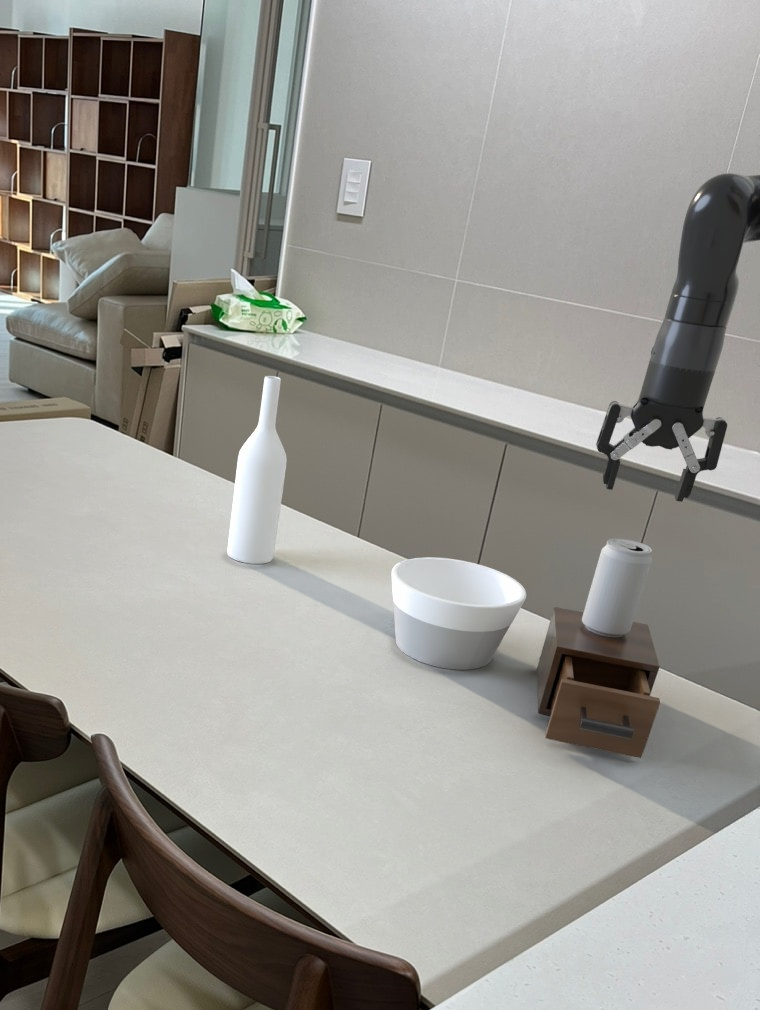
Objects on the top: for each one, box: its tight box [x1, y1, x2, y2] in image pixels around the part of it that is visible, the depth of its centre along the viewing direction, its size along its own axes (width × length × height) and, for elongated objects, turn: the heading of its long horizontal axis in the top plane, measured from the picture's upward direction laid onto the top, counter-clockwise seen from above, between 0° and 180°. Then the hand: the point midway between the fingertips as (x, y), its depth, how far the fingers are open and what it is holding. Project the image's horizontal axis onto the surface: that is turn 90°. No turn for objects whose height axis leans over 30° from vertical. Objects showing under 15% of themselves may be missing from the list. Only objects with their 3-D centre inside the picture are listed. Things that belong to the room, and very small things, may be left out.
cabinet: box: [536, 606, 660, 717], centre depth 143 cm, size 15×13×10 cm
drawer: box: [545, 654, 661, 759], centre depth 133 cm, size 18×12×8 cm, turn 165°
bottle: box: [226, 375, 288, 565], centre depth 176 cm, size 8×8×30 cm
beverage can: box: [582, 538, 653, 637], centre depth 140 cm, size 6×6×12 cm
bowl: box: [391, 556, 527, 671], centre depth 153 cm, size 19×19×11 cm
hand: (643, 494), depth 134 cm, fingers open, 8 cm apart
